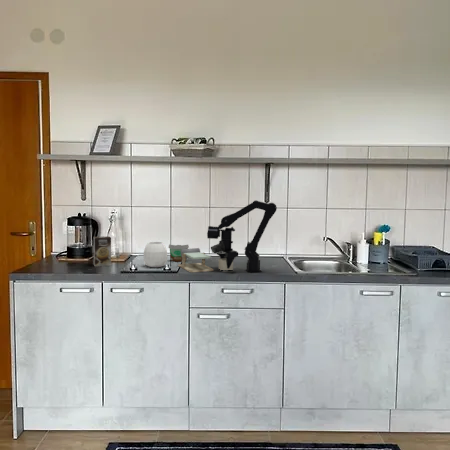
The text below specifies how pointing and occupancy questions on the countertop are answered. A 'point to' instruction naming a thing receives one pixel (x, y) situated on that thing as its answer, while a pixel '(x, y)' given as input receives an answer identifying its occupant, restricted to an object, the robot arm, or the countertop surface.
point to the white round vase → (155, 254)
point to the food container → (176, 252)
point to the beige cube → (224, 264)
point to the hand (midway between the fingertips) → (225, 267)
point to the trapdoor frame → (194, 266)
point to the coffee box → (102, 251)
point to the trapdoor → (194, 253)
